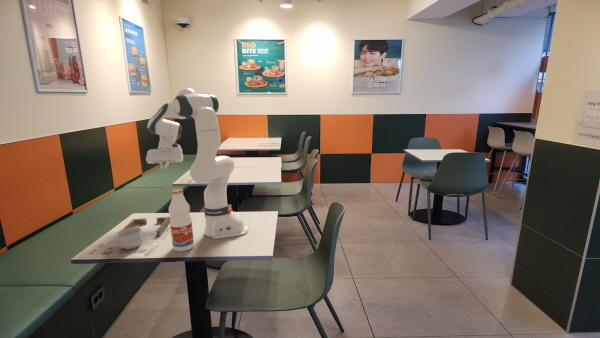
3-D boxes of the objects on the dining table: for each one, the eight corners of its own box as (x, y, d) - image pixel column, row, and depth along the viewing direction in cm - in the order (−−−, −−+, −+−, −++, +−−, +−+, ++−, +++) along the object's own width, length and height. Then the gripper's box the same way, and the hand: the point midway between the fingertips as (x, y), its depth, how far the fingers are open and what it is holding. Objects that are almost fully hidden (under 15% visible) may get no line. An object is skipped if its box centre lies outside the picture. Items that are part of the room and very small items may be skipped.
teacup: (133, 252, 151) (130, 236, 150) (112, 251, 154) (110, 235, 152) (152, 239, 165) (150, 224, 163) (133, 238, 167) (130, 223, 165)
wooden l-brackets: (170, 221, 188) (170, 216, 187) (160, 236, 168) (159, 230, 168) (134, 224, 186) (133, 219, 185) (119, 239, 166) (118, 233, 166)
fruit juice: (192, 241, 161) (186, 186, 155) (196, 249, 153) (189, 191, 147) (171, 245, 157) (164, 189, 151) (174, 253, 149) (167, 194, 143)
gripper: (146, 146, 192) (142, 166, 185) (182, 144, 194) (180, 164, 187) (149, 152, 198) (146, 172, 190) (184, 151, 200) (182, 170, 193)
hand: (163, 168), depth 189 cm, fingers closed
